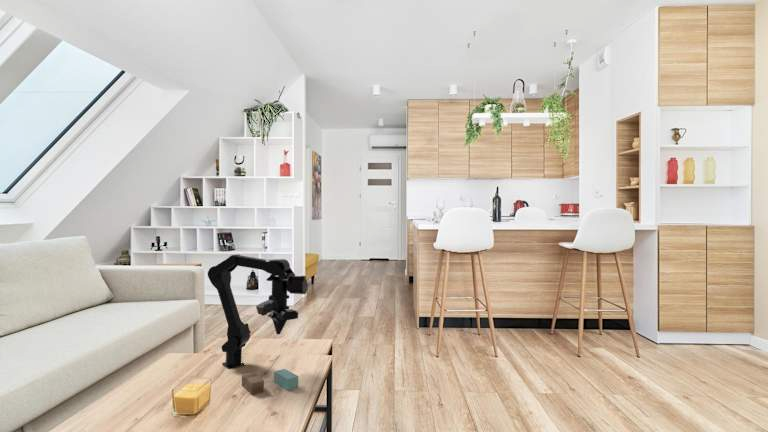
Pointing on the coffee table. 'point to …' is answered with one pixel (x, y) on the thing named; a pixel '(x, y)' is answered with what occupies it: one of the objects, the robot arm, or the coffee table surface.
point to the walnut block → (252, 383)
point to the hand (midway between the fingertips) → (278, 334)
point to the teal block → (286, 379)
